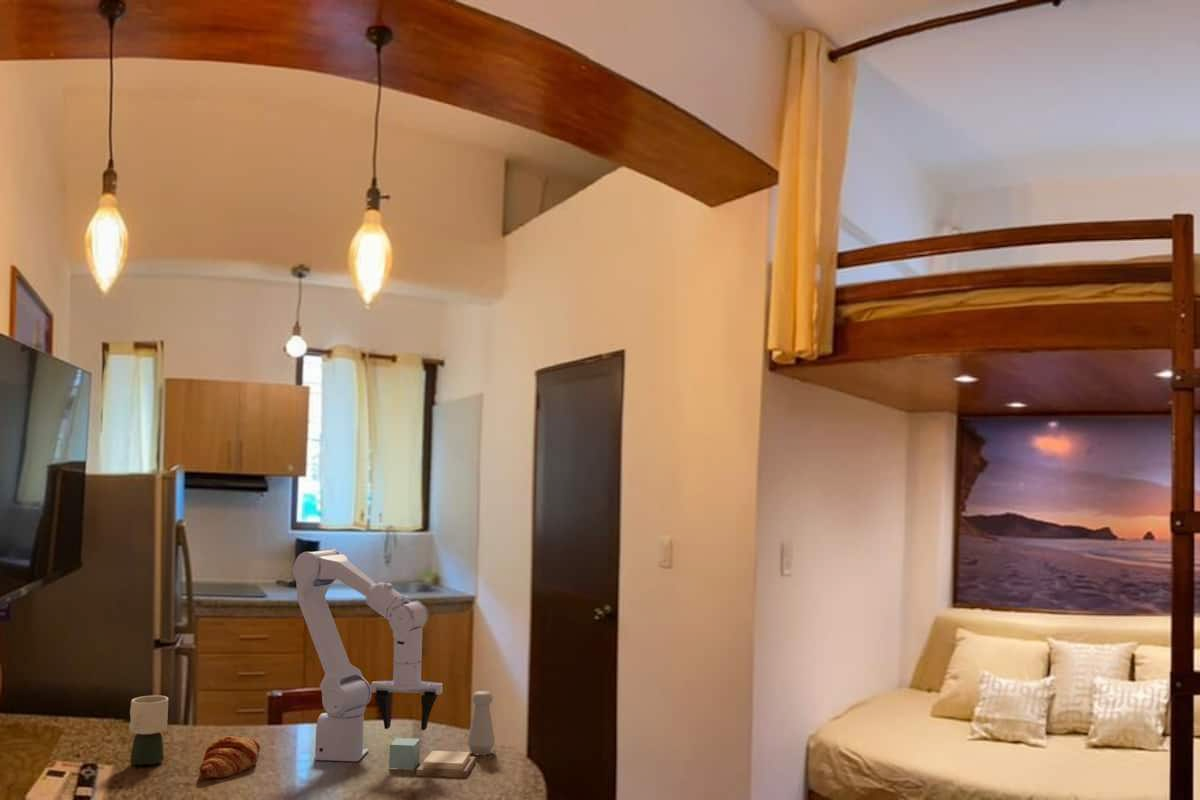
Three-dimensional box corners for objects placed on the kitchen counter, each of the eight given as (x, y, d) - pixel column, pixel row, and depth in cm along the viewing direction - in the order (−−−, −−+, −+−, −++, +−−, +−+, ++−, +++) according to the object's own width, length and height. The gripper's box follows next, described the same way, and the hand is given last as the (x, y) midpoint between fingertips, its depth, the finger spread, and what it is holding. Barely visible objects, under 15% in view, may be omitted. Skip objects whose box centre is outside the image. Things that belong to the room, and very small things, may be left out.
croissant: (243, 769, 213) (229, 734, 214) (284, 748, 212) (269, 714, 214) (190, 799, 192) (174, 761, 193) (234, 777, 192) (218, 738, 193)
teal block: (389, 769, 203) (389, 744, 204) (395, 762, 208) (396, 737, 209) (413, 770, 203) (414, 745, 203) (419, 763, 208) (419, 738, 208)
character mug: (148, 755, 210) (151, 692, 211) (178, 757, 208) (181, 694, 209) (113, 770, 199) (116, 704, 200) (145, 773, 198) (148, 706, 199)
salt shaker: (489, 757, 212) (490, 695, 213) (463, 755, 214) (465, 694, 214) (497, 750, 218) (499, 689, 219) (472, 748, 219) (474, 688, 220)
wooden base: (416, 775, 199) (416, 763, 200) (427, 760, 209) (428, 749, 210) (466, 777, 199) (466, 765, 199) (475, 762, 209) (475, 750, 209)
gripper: (367, 664, 203) (365, 732, 203) (437, 666, 203) (436, 734, 202) (377, 657, 211) (375, 723, 210) (445, 659, 210) (443, 725, 209)
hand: (405, 728), depth 206 cm, fingers open, 7 cm apart
